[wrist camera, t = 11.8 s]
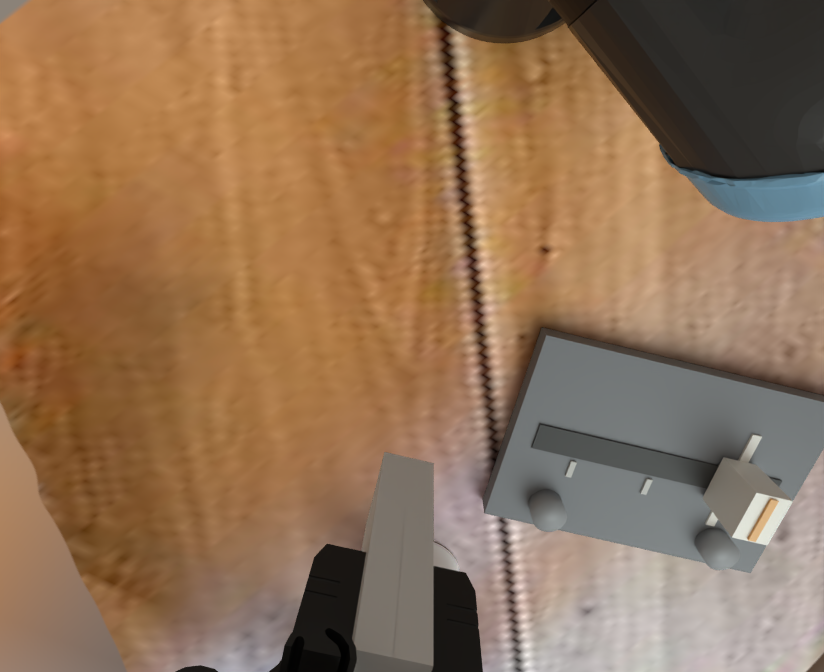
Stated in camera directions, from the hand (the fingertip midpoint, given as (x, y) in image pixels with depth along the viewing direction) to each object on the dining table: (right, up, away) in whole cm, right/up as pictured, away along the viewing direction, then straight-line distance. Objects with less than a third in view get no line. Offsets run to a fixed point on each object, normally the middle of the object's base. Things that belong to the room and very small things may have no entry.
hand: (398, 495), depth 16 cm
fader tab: (+28, -8, +31) cm, 42 cm away
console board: (+22, -6, +32) cm, 40 cm away
